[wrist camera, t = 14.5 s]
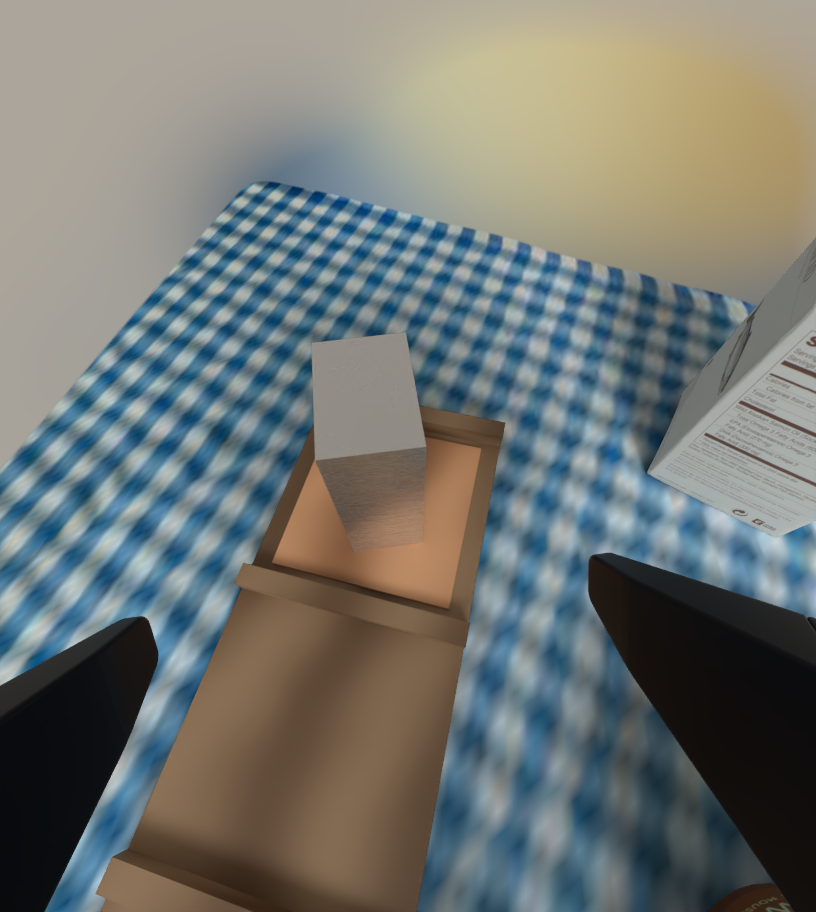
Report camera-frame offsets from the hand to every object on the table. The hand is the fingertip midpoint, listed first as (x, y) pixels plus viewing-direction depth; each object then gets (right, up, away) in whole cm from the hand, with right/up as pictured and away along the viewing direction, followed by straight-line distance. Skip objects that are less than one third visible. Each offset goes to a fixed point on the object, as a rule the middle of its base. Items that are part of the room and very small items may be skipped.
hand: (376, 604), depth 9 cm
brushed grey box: (-1, +1, +14) cm, 14 cm away
